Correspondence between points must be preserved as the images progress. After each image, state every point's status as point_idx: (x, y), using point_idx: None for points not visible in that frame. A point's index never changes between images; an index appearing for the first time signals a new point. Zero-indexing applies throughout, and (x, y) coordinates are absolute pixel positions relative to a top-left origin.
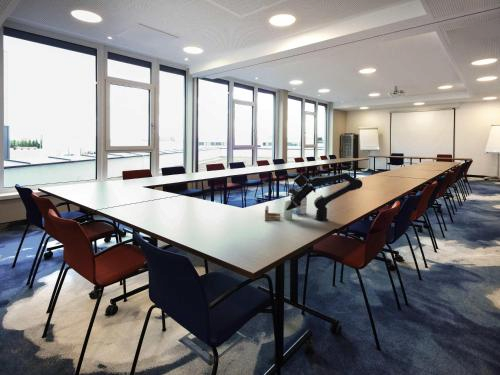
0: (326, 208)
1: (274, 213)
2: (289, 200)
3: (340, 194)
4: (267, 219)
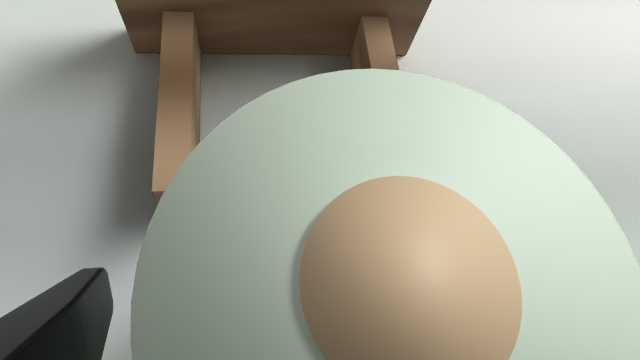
0: None
1: None
2: (495, 348)
3: None
4: (140, 40)
